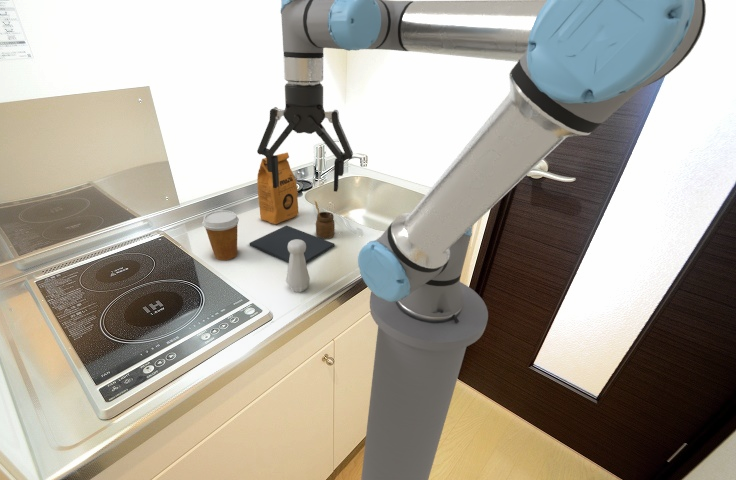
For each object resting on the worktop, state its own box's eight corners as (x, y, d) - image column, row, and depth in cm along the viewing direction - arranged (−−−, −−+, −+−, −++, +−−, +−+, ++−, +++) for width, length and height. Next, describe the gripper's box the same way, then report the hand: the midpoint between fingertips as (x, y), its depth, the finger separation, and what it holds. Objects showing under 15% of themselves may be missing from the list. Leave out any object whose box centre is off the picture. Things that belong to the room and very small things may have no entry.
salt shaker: (283, 291, 90) (280, 245, 83) (291, 279, 95) (289, 234, 88) (305, 296, 89) (304, 249, 82) (312, 283, 94) (312, 238, 87)
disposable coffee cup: (234, 265, 100) (229, 225, 94) (202, 261, 102) (194, 222, 95) (248, 248, 108) (243, 211, 102) (217, 245, 110) (211, 208, 103)
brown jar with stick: (337, 237, 116) (338, 202, 110) (318, 240, 114) (318, 204, 107) (330, 229, 120) (331, 195, 114) (312, 232, 118) (312, 197, 112)
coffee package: (302, 217, 128) (301, 154, 117) (275, 228, 120) (270, 161, 109) (284, 209, 134) (281, 148, 122) (256, 219, 126) (250, 155, 115)
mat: (334, 246, 111) (334, 243, 110) (299, 268, 100) (299, 265, 99) (286, 227, 121) (286, 225, 120) (249, 245, 110) (249, 242, 109)
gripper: (368, 83, 73) (361, 185, 84) (247, 78, 75) (256, 179, 86) (367, 87, 67) (360, 197, 78) (235, 82, 69) (246, 190, 80)
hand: (305, 187), depth 82 cm, fingers open, 13 cm apart
